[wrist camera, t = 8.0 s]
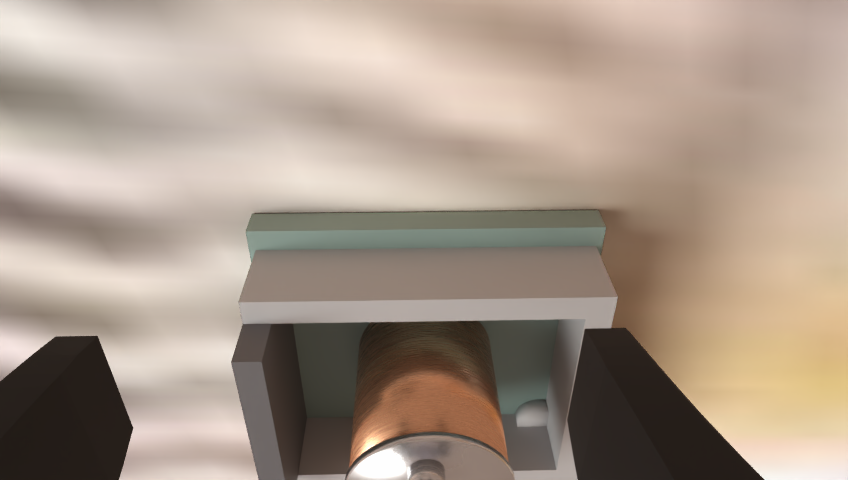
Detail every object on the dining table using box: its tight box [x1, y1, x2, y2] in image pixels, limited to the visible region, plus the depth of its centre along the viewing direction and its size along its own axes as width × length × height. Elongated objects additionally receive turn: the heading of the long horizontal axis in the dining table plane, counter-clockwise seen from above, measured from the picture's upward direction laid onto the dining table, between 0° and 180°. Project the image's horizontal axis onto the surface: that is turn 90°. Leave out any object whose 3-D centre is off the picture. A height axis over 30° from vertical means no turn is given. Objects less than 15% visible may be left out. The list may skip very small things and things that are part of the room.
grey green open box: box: [231, 210, 618, 480], centre depth 21 cm, size 10×11×5 cm
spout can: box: [345, 321, 515, 480], centre depth 20 cm, size 5×5×6 cm
